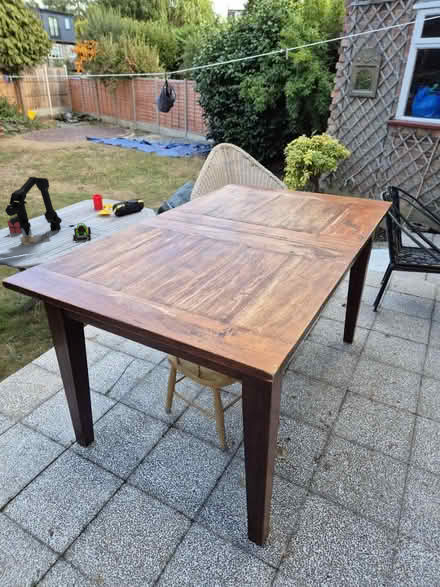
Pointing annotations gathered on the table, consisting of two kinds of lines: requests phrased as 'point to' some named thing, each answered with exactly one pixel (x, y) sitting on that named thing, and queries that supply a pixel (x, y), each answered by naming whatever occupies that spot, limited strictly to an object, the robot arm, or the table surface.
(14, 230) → the puzzle cube
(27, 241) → the block
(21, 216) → the robot arm
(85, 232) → the motor vehicle
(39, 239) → the board
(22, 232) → the block
